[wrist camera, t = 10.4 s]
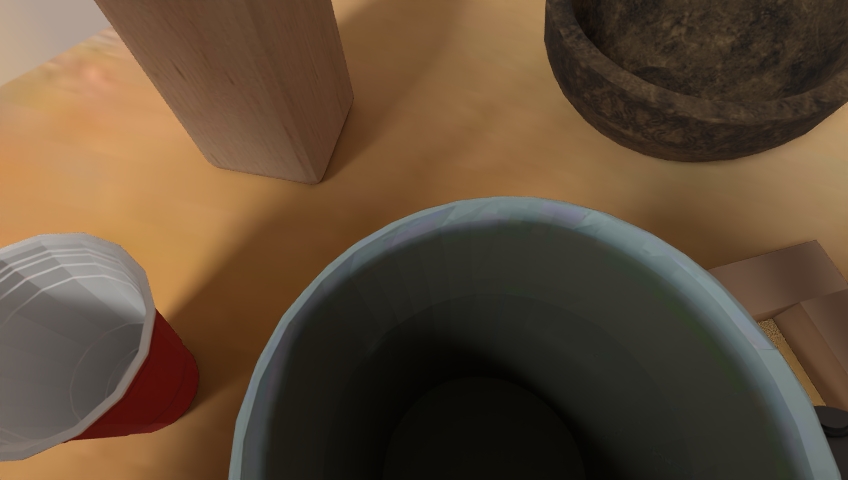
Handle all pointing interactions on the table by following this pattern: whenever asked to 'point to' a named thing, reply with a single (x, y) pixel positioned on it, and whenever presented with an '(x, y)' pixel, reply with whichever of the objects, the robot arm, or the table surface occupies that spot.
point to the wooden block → (245, 77)
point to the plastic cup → (83, 347)
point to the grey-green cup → (522, 361)
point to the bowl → (700, 71)
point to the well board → (799, 309)
